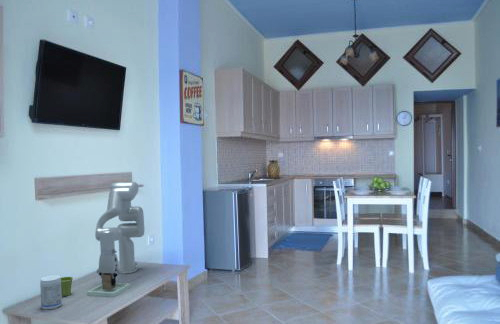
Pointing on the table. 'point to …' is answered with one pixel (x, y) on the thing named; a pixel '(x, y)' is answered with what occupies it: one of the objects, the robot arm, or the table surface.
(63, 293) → the plant pot
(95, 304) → the table surface
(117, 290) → the sage tray
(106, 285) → the walnut block
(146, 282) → the table surface
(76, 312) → the table surface
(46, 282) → the supplement tub
